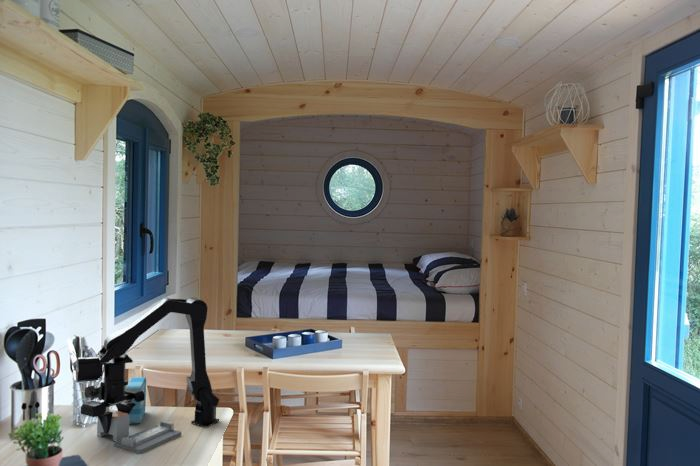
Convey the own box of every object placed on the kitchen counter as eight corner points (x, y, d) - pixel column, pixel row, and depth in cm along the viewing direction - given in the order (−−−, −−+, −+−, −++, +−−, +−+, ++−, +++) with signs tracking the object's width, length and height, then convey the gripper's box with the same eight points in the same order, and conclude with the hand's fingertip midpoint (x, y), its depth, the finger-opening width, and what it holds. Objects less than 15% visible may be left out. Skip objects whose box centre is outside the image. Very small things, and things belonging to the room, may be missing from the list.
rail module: (109, 431, 174) (110, 408, 174) (128, 436, 170) (129, 413, 170) (97, 435, 170) (97, 412, 170) (116, 441, 166) (117, 418, 166)
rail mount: (156, 428, 177) (156, 418, 177) (181, 435, 173) (181, 425, 173) (113, 446, 163) (114, 435, 163) (139, 453, 159) (140, 442, 158)
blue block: (139, 424, 180) (140, 386, 180) (124, 425, 179) (125, 386, 179) (145, 411, 192) (146, 375, 191) (130, 412, 191) (132, 376, 190)
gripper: (120, 367, 182) (119, 416, 182) (67, 381, 165) (66, 435, 165) (146, 372, 177) (145, 423, 177) (95, 387, 160) (93, 443, 160)
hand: (113, 430), depth 170 cm, fingers closed on rail module, 4 cm apart
